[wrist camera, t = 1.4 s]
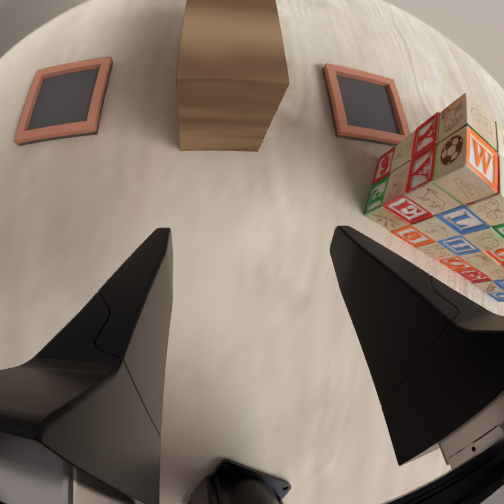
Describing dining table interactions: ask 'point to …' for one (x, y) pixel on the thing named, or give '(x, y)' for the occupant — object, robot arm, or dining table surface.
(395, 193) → the stack of blocks
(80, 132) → the tile
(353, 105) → the tile
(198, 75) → the walnut brick
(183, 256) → the dining table surface
